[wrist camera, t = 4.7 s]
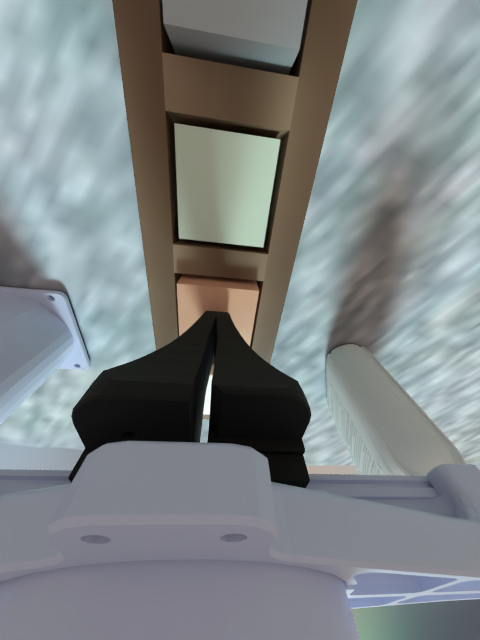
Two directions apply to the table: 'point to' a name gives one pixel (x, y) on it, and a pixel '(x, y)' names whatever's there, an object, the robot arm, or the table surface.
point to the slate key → (237, 31)
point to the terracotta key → (217, 301)
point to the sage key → (224, 184)
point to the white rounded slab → (381, 418)
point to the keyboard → (233, 116)
